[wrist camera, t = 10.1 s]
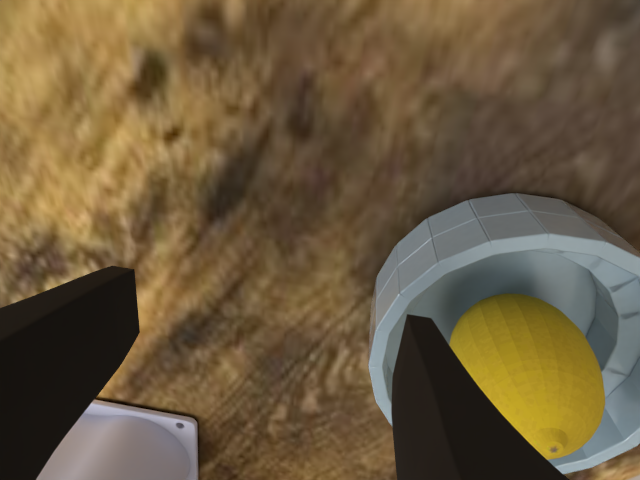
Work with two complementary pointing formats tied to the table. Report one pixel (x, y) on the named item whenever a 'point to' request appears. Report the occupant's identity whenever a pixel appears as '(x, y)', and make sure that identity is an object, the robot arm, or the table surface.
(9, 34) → the table surface
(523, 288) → the bowl
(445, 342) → the robot arm
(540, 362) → the lemon
